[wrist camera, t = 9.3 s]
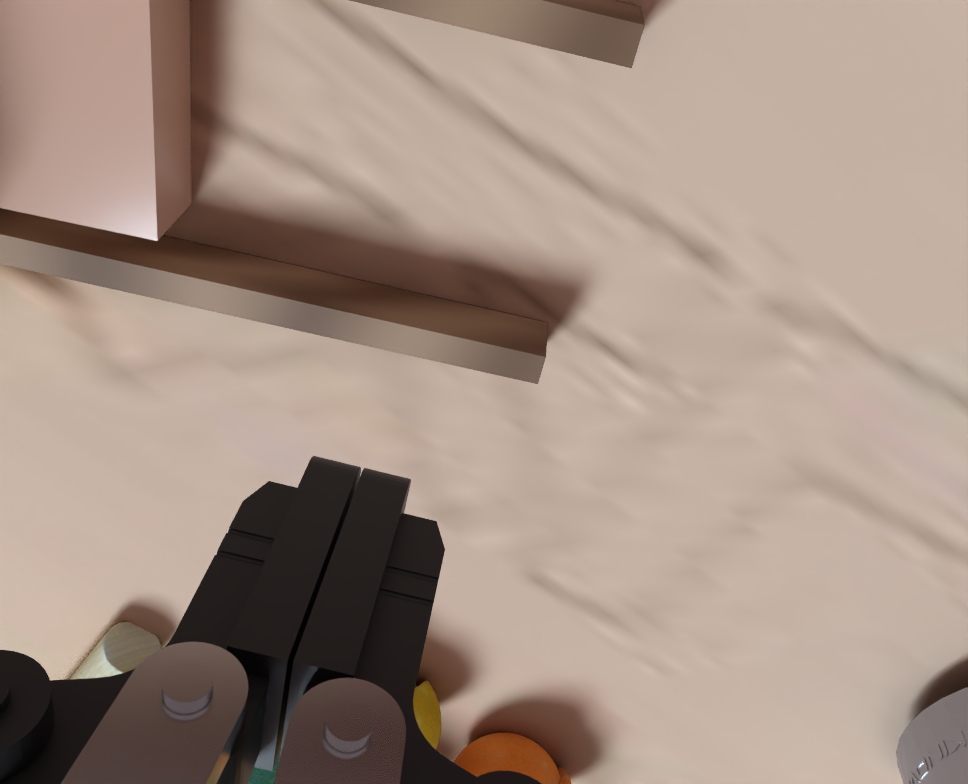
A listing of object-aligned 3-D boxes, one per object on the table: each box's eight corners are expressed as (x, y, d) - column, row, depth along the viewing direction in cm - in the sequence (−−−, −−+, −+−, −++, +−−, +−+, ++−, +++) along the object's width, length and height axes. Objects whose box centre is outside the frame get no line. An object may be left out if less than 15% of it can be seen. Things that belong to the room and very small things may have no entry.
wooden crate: (639, 6, 22) (668, 125, 15) (540, 348, 28) (524, 556, 21) (-413, -250, 21) (-964, -264, 14) (-282, 163, 27) (-613, 311, 20)
